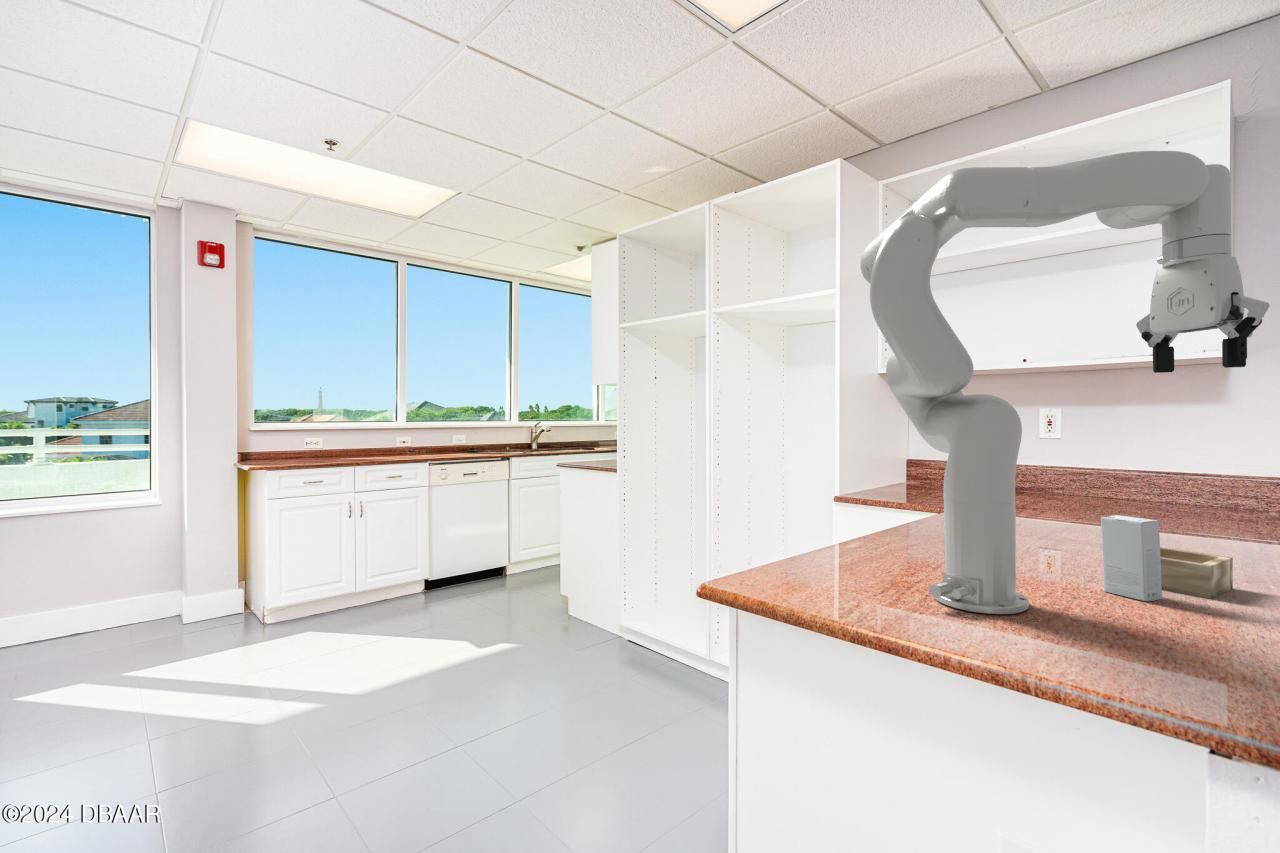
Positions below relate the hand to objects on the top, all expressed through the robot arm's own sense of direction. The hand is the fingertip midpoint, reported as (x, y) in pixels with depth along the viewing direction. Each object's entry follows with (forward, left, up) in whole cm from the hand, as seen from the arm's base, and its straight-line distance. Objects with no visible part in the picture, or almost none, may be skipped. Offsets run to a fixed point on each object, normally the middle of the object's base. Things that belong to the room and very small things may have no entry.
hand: (1197, 369), depth 89 cm
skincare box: (-5, +7, -35) cm, 36 cm away
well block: (+7, +5, -35) cm, 36 cm away
